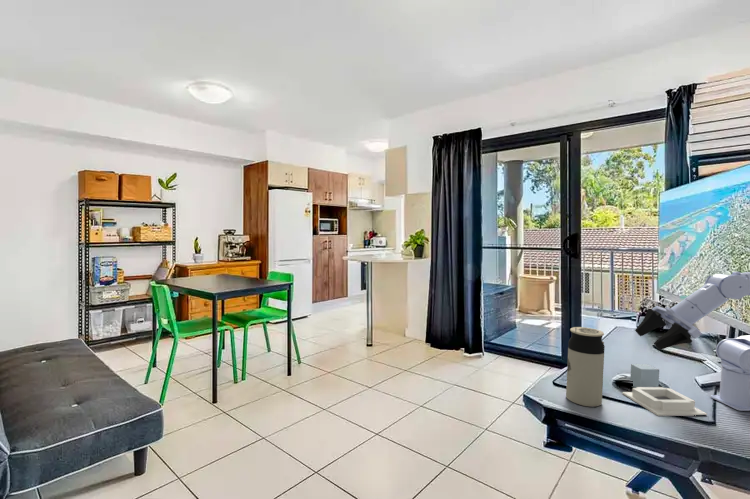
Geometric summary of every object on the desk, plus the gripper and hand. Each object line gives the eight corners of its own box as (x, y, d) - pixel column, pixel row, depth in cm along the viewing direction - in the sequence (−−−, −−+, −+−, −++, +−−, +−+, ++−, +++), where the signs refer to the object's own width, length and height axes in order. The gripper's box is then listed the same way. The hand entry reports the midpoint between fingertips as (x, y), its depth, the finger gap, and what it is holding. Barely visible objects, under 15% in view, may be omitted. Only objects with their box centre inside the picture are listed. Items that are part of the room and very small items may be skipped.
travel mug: (603, 399, 97) (606, 330, 96) (599, 410, 91) (603, 336, 90) (569, 391, 102) (572, 325, 101) (563, 401, 96) (566, 330, 95)
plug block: (647, 385, 107) (648, 364, 107) (658, 391, 103) (659, 369, 103) (629, 385, 107) (631, 364, 107) (640, 391, 103) (641, 369, 103)
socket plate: (665, 393, 101) (666, 384, 101) (706, 415, 89) (707, 405, 89) (622, 393, 101) (622, 384, 101) (657, 415, 89) (658, 405, 89)
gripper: (664, 287, 104) (621, 317, 106) (707, 308, 90) (656, 342, 92) (679, 305, 105) (636, 335, 107) (723, 329, 91) (672, 362, 93)
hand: (646, 339), depth 100 cm, fingers open, 7 cm apart
